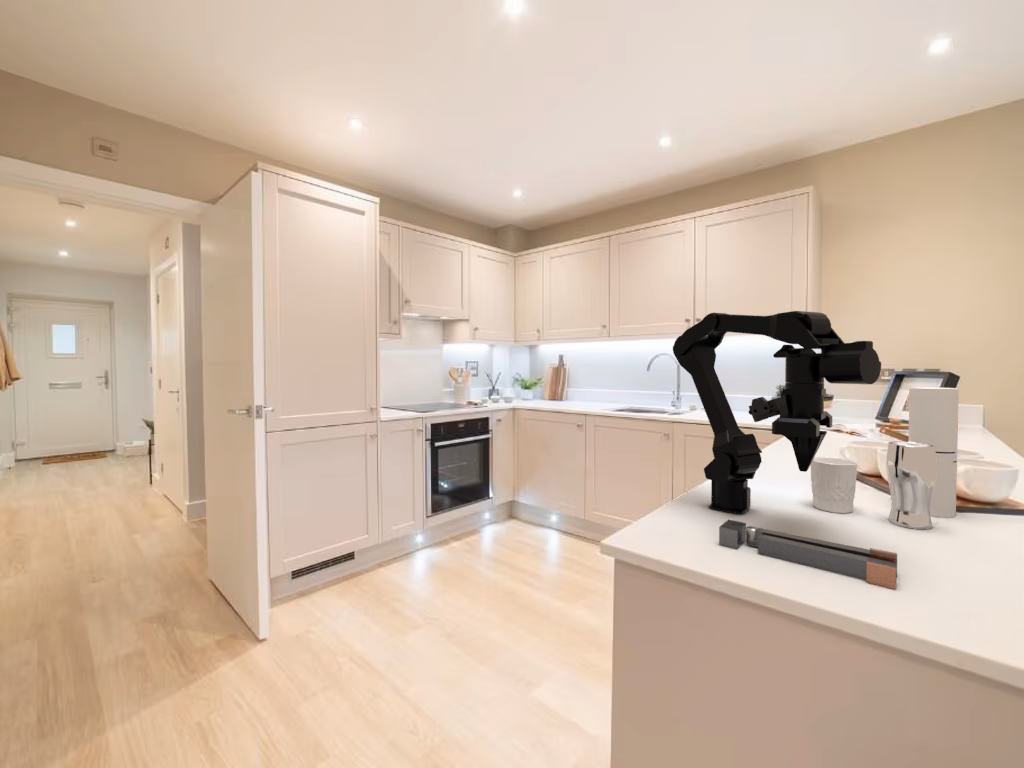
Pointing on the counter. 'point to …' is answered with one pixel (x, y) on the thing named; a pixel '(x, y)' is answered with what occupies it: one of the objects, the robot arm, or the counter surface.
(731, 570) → the counter surface
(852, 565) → the base
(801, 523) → the counter surface
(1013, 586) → the counter surface
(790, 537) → the bar
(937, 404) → the beige tall box
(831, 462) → the white cup
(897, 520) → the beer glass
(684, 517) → the counter surface
